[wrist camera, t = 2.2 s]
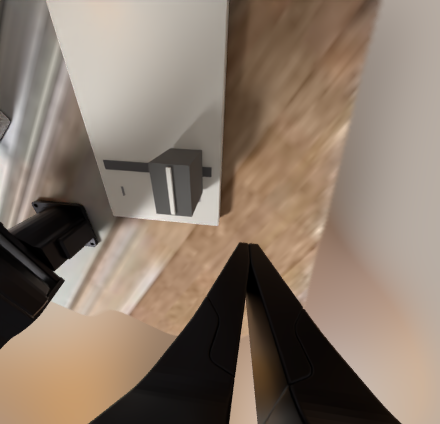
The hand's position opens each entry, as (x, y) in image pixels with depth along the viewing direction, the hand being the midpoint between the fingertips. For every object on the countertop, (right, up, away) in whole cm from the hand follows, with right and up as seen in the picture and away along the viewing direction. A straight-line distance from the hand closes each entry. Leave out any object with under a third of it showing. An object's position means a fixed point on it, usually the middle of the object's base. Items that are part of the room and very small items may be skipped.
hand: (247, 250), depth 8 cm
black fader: (-4, +5, +9) cm, 11 cm away
